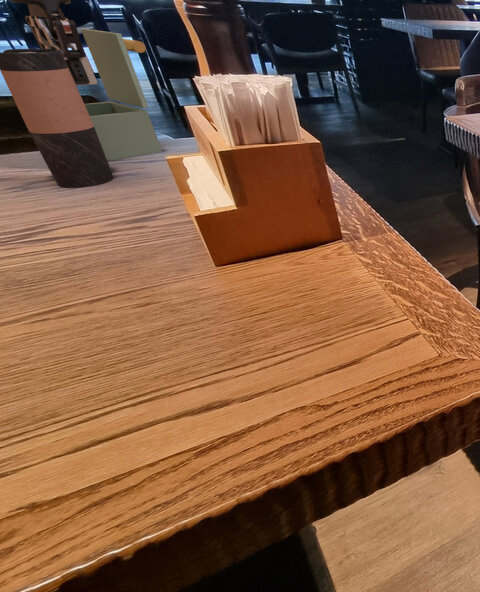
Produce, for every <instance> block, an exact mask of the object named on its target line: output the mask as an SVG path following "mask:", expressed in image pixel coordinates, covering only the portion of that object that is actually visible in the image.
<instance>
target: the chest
mask: <svg viewBox="0 0 480 592" xmlns="http://www.w3.org/2000/svg"><path fill="white" fill-rule="evenodd" d="M84 105H85V107H86V109H87V112H88V114H89V116H90V118H91V121H92V123H93V125H94V128H95V130H96V133H97V135H98V138H99V141H100V143H101V146H102V148H103V151H104V154H105V156H106V159H107V161H113V160H119V159H125V158H133V157H137V156H143V155H149V154H155V153H156V154H157V153H162V152H163V150H162V146H161V144H160V142H159V138H158V136H157V134H156V131H155V128H154V126H153V123H152V120H151V117H150V115H149V112H148V110H145V109H143V108H139V107H136V106H132V105H128V104H125V103H121V102H117V101H114V100H111V101H103V102H102V101H101V102H92V103H84Z"/></svg>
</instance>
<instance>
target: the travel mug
mask: <svg viewBox="0 0 480 592" xmlns="http://www.w3.org/2000/svg"><path fill="white" fill-rule="evenodd" d="M0 73H1V74H2V77H3V79H4V82H5V84H6V86H7V88H8V90H9V92H10V94H11V96H12V99H13V100H14V103H15V104H16V107H17V108H18V111H19V113H20V116H21V118H22V119H23V122H24V124H25V126H26V128H27V130H28V132H29V134H30V136H31V138H32V140H33V142H34V144H35V145H36V147H37V149H38V151H39V153H40V155H41V157H42V158H43V161H44V162H45V164H46V166H47V168H48V170H49V172H50V173H51V175H52V177H53V180H54V181H55V183H56V185H58V187H60V188H84V187H91V186H97V185H102V184H105V183H108V182H110V181H112V180H113V179H114V175H113V173H112V170H111V167H110V164H109V162H108V161H109V160H108V161H107V159H106V156H105V154H104V151H103V148H102V146H101V143H100V141H99V138H98V135H97V133H96V130H95V128H94V125H93V123H92V121H91V118H90V116H89V114H88V112H87V109H86V107H85V105H84V104H85V102H84V100H83V98H82V96H81V94H80V91H79V89H78V87H77V86H76V84H75V82H74V80H73V77H72V75H71V73H70V71H69V68H68V66H67V64H66V61H65V59H64V57H63V55H62V52H61V51H60V50H56V49H41V48H10V49H4V50H3V51H2V52H0Z"/></svg>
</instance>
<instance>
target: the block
mask: <svg viewBox="0 0 480 592" xmlns="http://www.w3.org/2000/svg"><path fill="white" fill-rule="evenodd" d="M82 59H83V60H82V61H81V62H82V64H83V67H84V69H85V71H86V74H87V76H88V79H89V81H90V83H89V84H82V85H81V86H89V85H91V86H92V85H98V84H99V82H98V81H97V78H96V76H95V74H94V73H95V72H94V71H93V69H92V66H91V64H90V61H89V59H88V57H87V56H85V57H84V58H82ZM66 62H67V61H66ZM76 86H78V87H79V86H80V85H76Z"/></svg>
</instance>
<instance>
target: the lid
mask: <svg viewBox="0 0 480 592" xmlns="http://www.w3.org/2000/svg"><path fill="white" fill-rule="evenodd" d="M80 30H81V33H82V35H83V38H84V40H85V43H86V45H87V47H88V50H89V53H90V55H91V58H92V61H93V63H94V65H95V68H96V70H97V73H98V75H99V78H100V81H101V83H102V85H103V87H104V90H105V92H106V95H107V98H108V99H109V100H111V101H114V102H117V103H121V104H125V105H128V106H132V107H136V108H139V109H149V105H148V103H147V99H146V96H145V95H144V91H143V89H142V86H141V84H140V80H139V77H138V75H137V72H136V71H135V68H134V65H133V61H132V60H131V56H130V54H129V52H132V53H133V52H134V53H140V54H143V53H145V52H146V49H147V48H146V47H147V46H146V45H145V43H144V42H143V41H140V40H135V39H127V38H124V37H123V35H122V33H119V32H111V31H103V30H97V29H89V28H80Z"/></svg>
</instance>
